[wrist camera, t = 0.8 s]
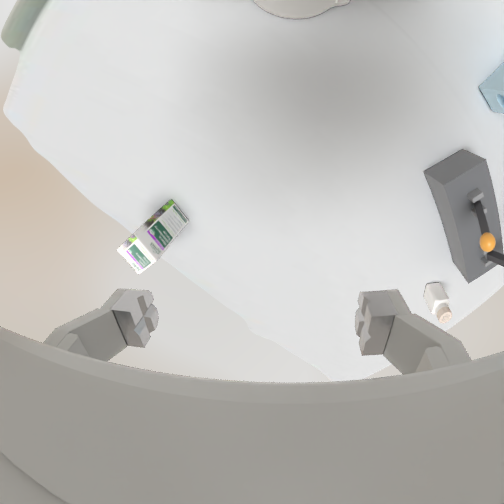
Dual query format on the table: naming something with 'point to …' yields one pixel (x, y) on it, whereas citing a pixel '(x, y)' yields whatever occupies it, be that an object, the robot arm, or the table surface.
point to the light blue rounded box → (494, 89)
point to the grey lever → (495, 257)
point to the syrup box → (153, 237)
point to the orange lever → (484, 229)
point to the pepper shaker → (437, 301)
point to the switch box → (465, 209)
